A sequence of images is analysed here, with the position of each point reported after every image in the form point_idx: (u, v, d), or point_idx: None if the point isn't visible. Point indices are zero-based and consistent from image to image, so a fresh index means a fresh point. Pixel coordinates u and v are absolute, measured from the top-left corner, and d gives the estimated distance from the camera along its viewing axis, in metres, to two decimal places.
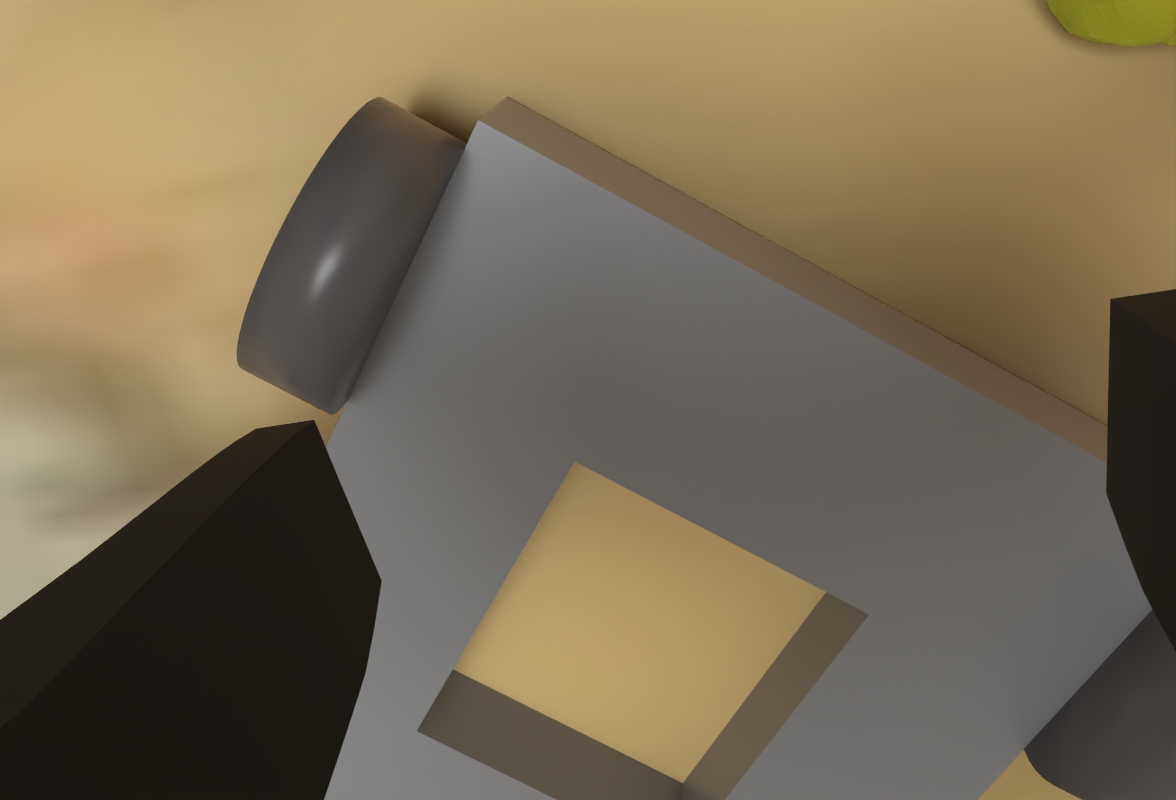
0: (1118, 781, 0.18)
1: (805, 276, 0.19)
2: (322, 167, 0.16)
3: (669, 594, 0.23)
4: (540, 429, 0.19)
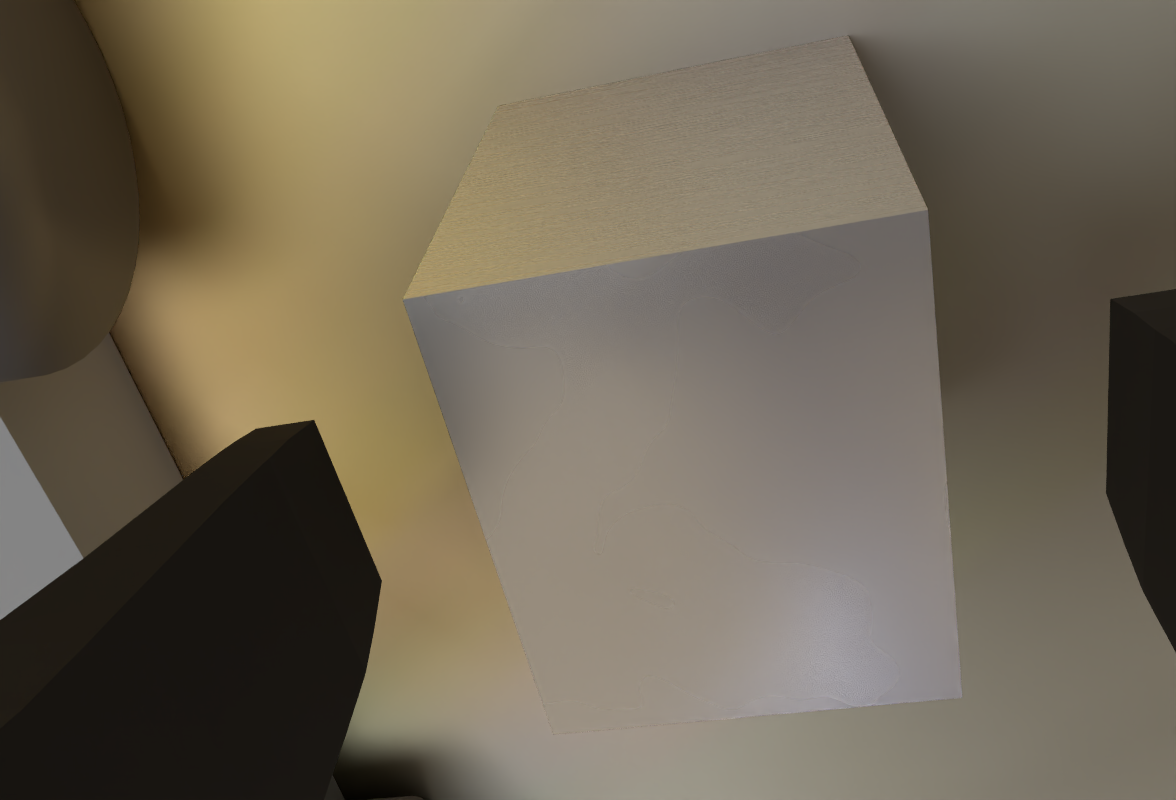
0: None
1: None
2: None
3: None
4: None
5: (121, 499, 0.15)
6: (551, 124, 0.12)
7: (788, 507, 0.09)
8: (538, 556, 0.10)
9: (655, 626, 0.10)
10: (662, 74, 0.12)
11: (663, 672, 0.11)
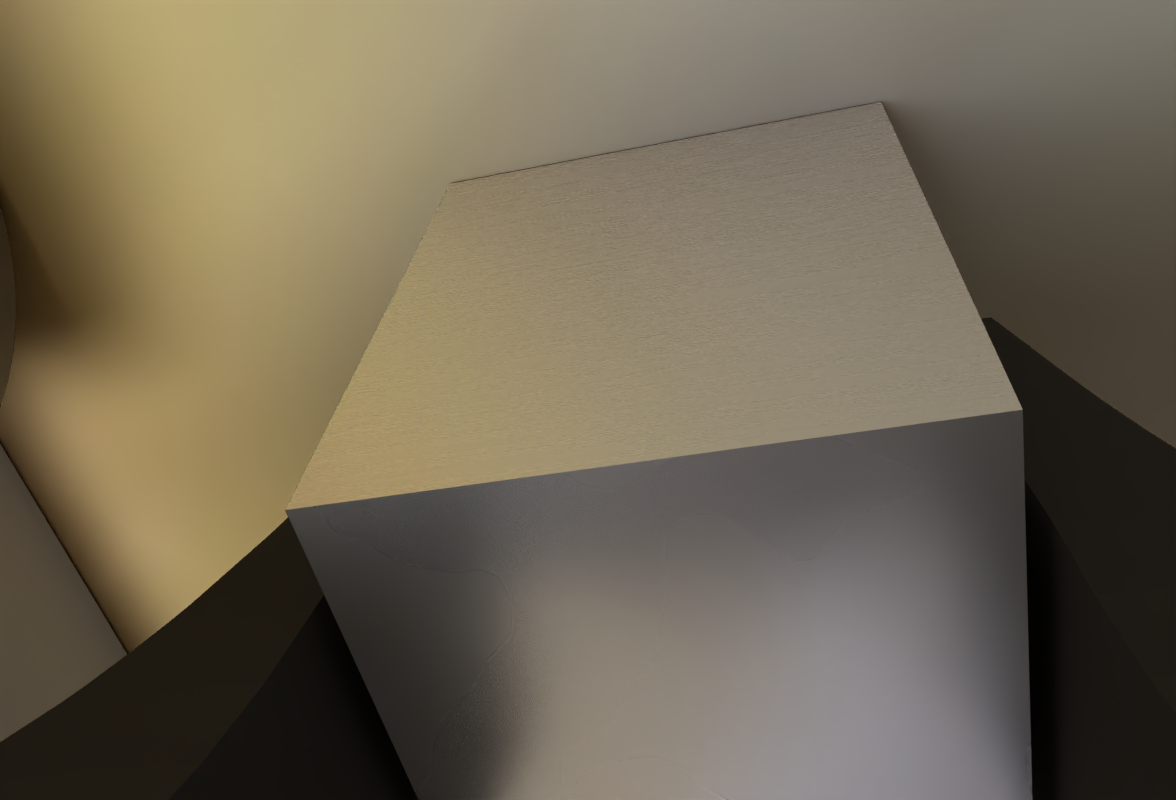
0: None
1: None
2: None
3: None
4: None
5: (10, 639, 0.12)
6: (509, 220, 0.09)
7: (814, 765, 0.07)
8: None
9: None
10: (650, 150, 0.10)
11: None
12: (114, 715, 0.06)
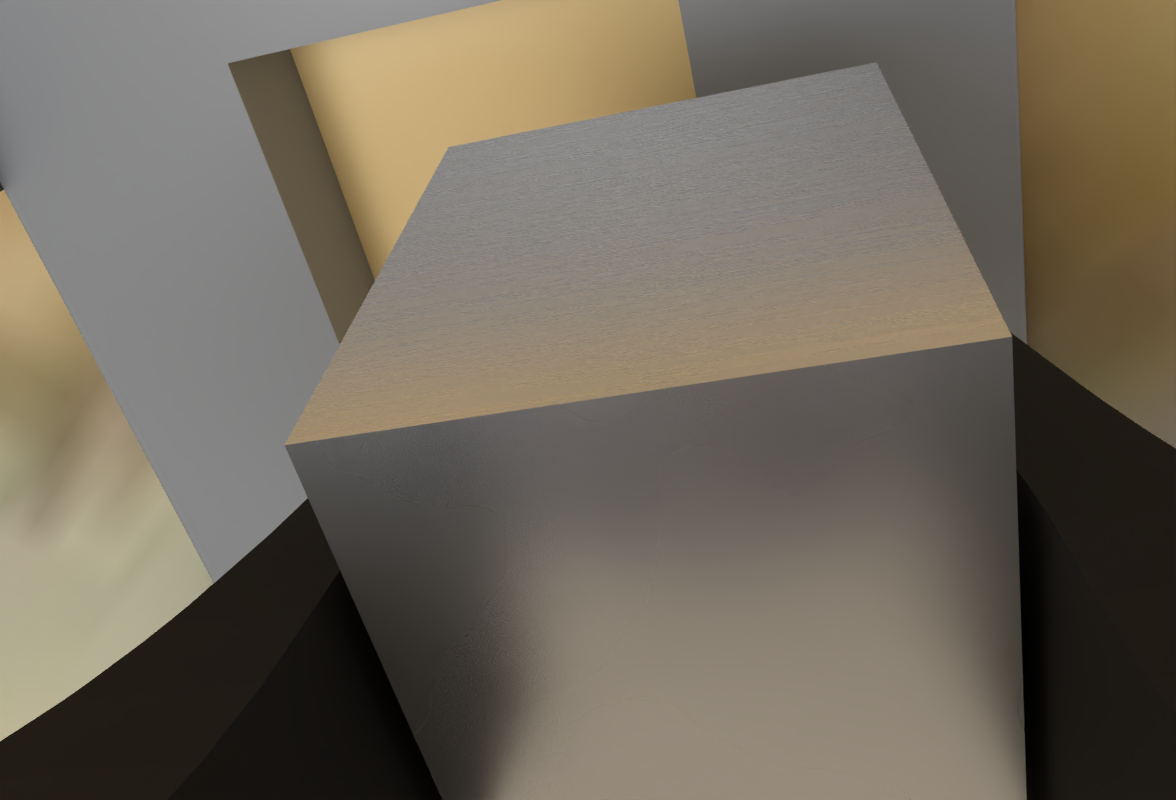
0: None
1: None
2: None
3: None
4: (166, 57, 0.15)
5: None
6: (508, 178, 0.09)
7: (807, 704, 0.07)
8: (482, 754, 0.08)
9: None
10: (647, 111, 0.10)
11: None
12: (112, 713, 0.06)
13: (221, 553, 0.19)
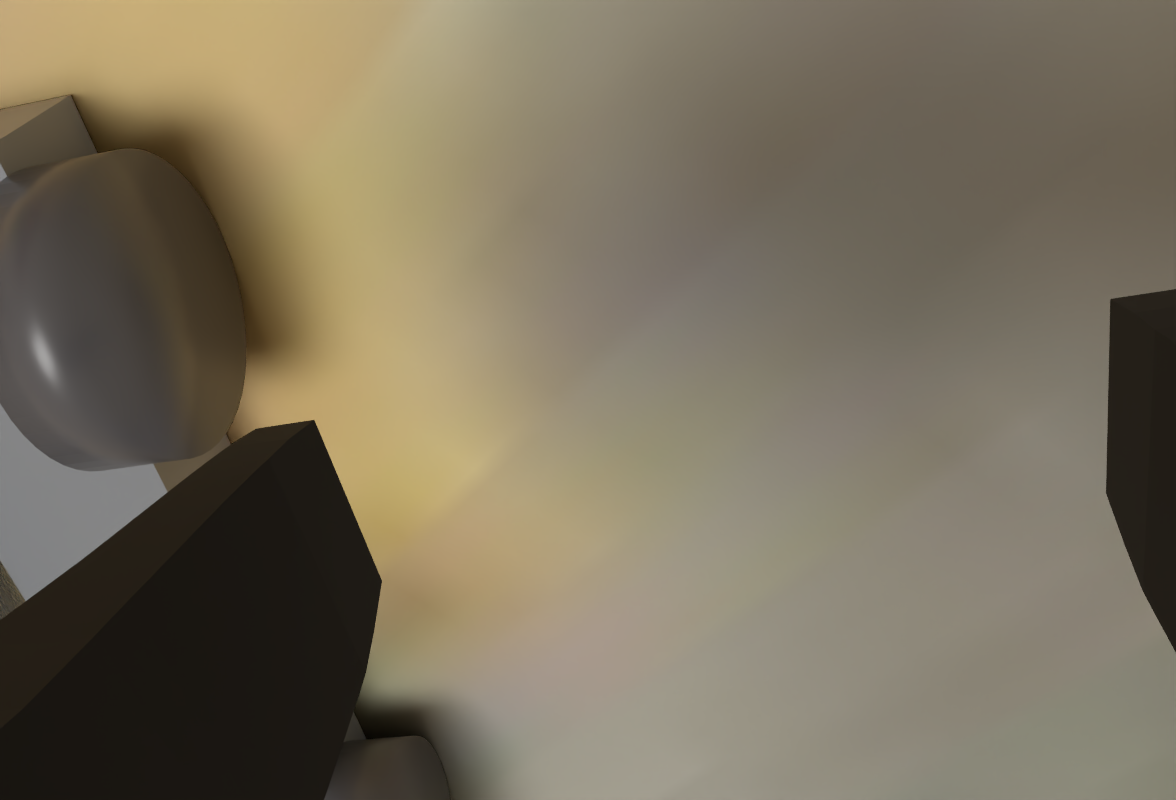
0: (34, 446, 0.17)
1: None
2: None
3: None
4: None
5: None
6: None
7: None
8: None
9: None
10: None
11: None
12: None
13: None
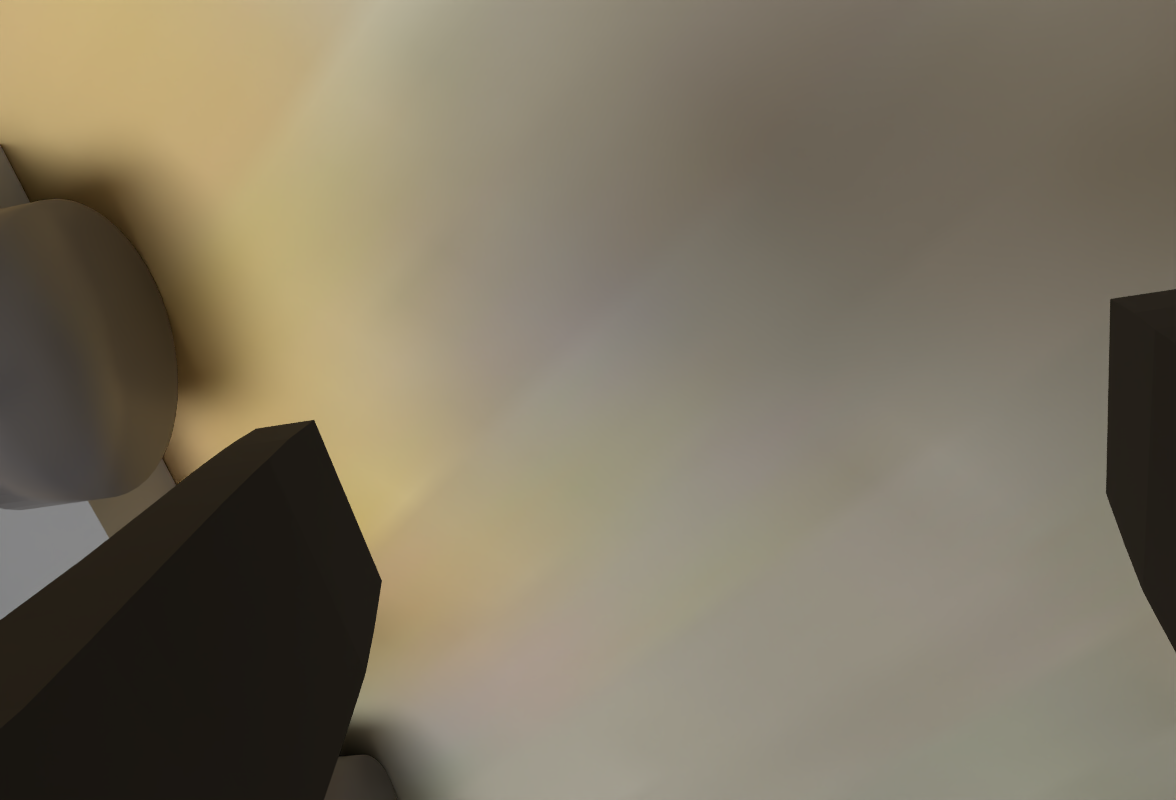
0: None
1: None
2: None
3: None
4: None
5: None
6: None
7: None
8: None
9: None
10: None
11: None
12: None
13: None
